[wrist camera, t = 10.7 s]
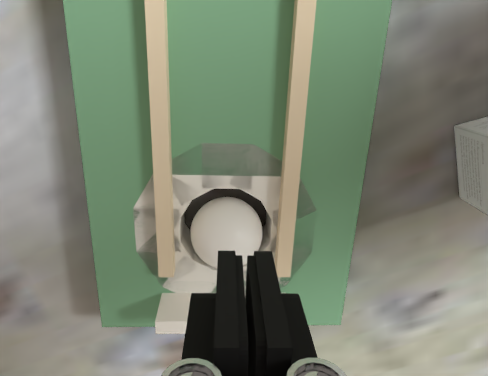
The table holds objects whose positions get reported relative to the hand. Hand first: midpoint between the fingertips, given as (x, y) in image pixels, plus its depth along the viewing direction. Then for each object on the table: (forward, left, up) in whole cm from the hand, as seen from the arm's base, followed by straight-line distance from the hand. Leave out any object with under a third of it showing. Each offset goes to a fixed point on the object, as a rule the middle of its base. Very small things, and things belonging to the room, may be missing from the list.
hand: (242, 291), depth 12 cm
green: (0, -3, -16) cm, 16 cm away
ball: (0, +5, -14) cm, 14 cm away
